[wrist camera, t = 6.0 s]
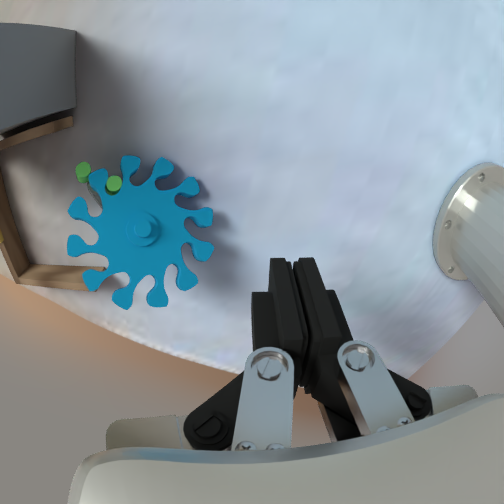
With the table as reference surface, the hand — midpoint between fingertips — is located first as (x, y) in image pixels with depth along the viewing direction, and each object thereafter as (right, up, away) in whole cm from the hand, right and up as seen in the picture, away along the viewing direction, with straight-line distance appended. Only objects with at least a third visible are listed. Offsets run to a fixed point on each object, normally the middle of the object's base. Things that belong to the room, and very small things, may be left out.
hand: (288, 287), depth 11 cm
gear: (-9, +5, +9) cm, 13 cm away
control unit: (-19, +15, +2) cm, 24 cm away
